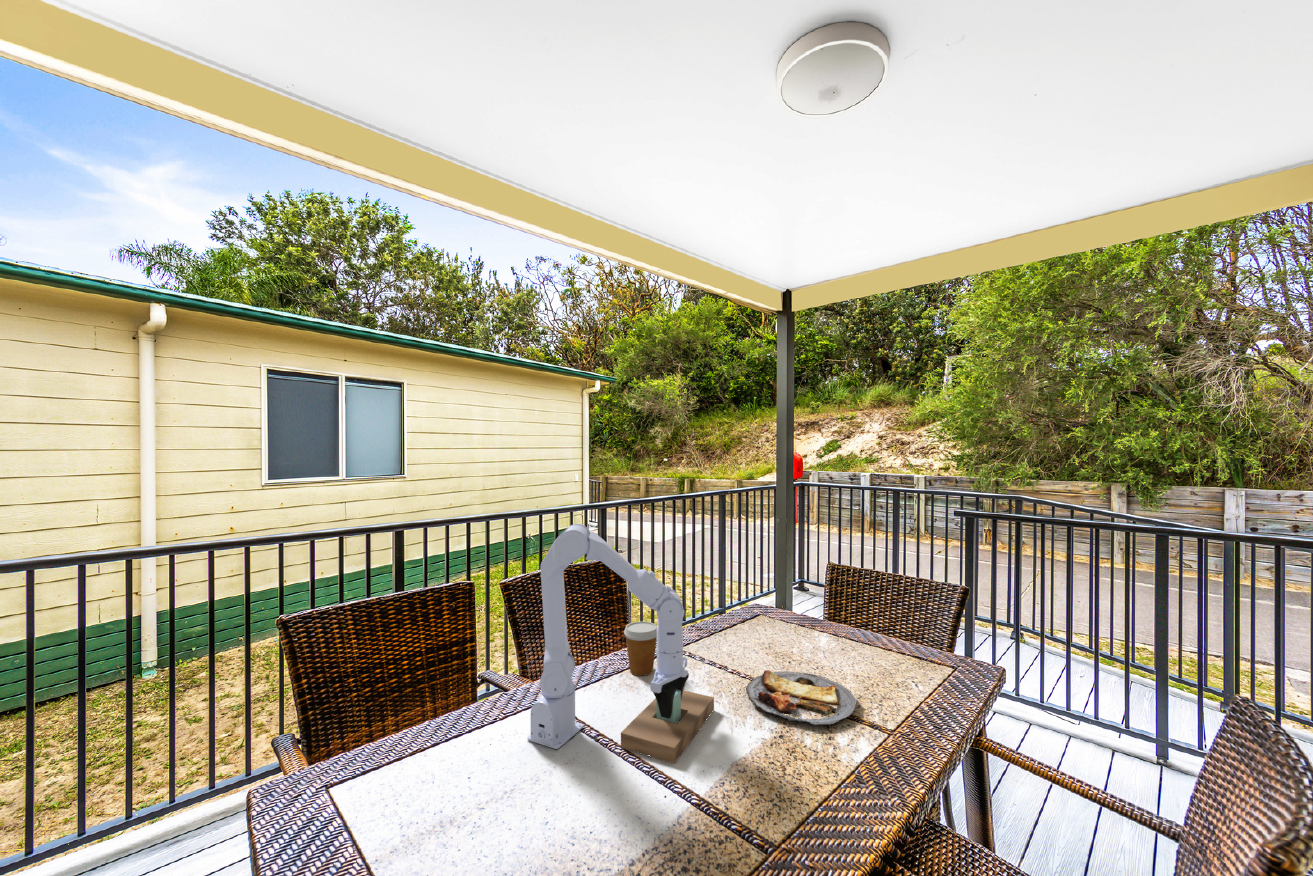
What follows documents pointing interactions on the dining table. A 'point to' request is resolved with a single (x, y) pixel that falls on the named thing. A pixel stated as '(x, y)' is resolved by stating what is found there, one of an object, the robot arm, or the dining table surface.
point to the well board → (667, 728)
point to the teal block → (675, 709)
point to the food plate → (800, 696)
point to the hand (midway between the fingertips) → (670, 711)
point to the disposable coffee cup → (641, 646)
